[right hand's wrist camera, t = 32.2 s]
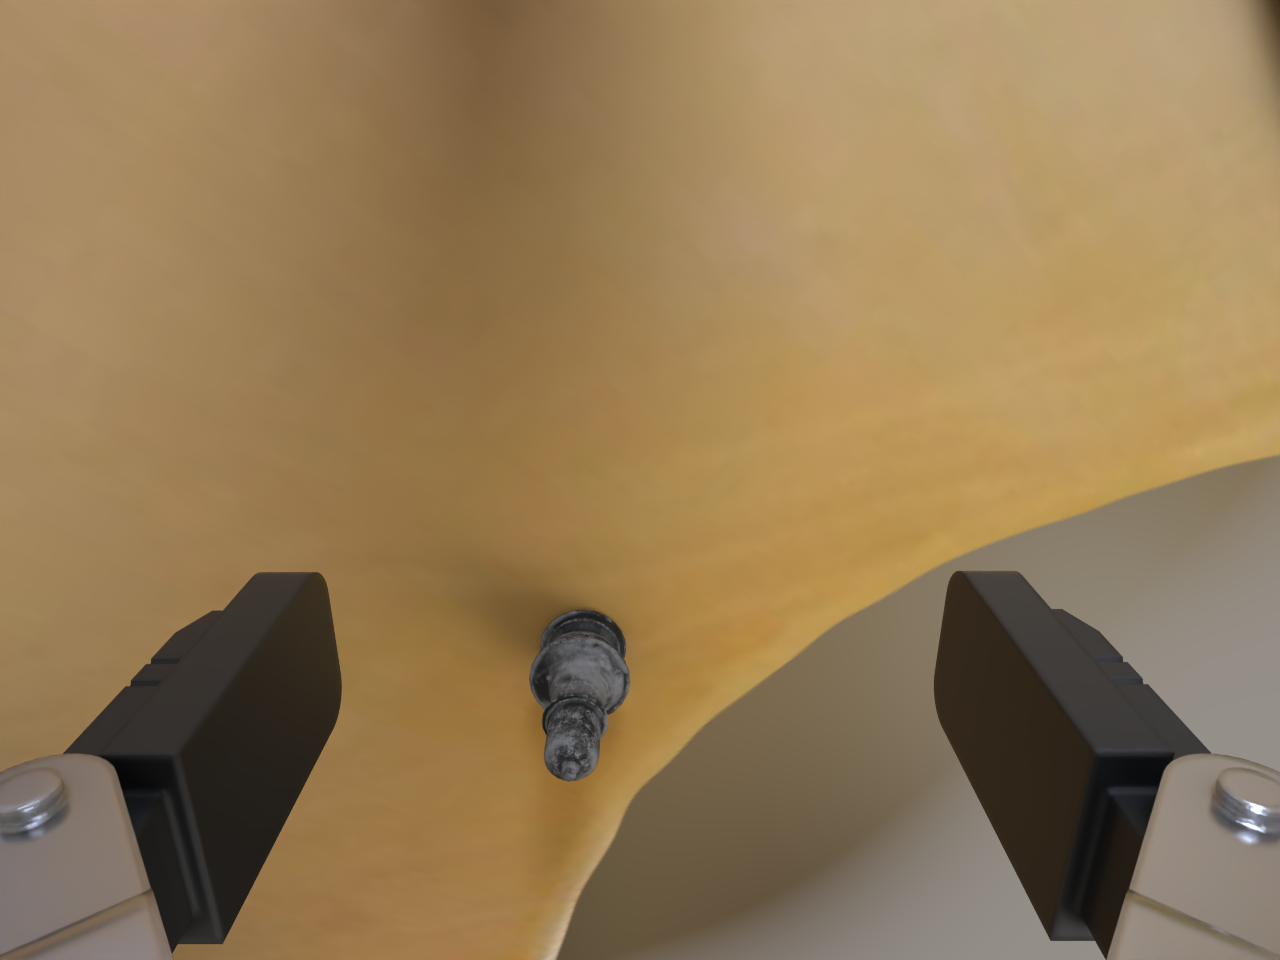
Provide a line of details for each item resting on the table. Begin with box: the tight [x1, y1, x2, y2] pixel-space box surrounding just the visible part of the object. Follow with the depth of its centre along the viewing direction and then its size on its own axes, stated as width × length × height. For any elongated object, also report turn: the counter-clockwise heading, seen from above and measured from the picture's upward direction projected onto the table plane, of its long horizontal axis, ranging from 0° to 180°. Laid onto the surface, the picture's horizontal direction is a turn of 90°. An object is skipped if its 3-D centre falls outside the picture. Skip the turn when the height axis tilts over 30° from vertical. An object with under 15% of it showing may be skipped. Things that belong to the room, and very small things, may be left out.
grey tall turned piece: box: [529, 610, 630, 781], centre depth 49 cm, size 6×6×12 cm
